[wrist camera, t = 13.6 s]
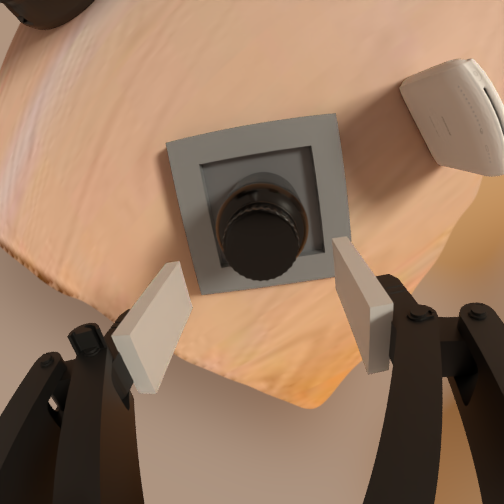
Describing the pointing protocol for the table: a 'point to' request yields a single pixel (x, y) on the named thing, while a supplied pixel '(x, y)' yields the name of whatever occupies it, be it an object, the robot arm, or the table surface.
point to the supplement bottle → (262, 226)
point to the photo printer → (458, 116)
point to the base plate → (253, 161)
